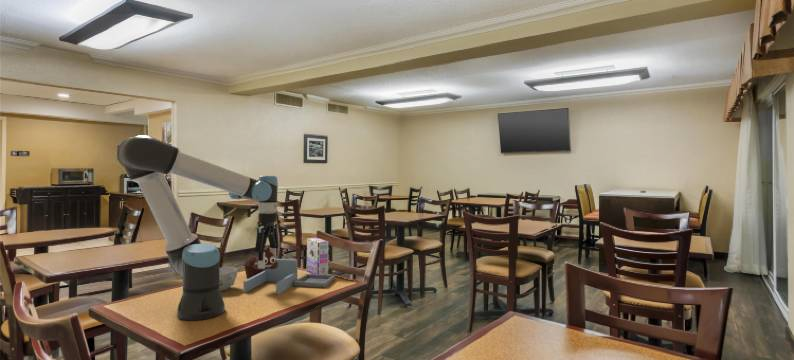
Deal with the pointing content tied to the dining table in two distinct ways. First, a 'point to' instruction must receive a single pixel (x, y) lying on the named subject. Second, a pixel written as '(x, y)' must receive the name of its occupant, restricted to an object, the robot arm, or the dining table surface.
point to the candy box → (318, 256)
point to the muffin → (251, 267)
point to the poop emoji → (267, 260)
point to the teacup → (227, 277)
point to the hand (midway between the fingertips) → (267, 265)
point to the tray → (314, 280)
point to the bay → (275, 276)
